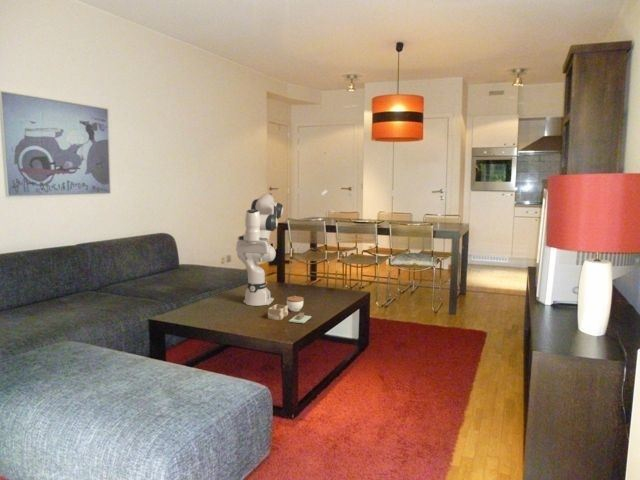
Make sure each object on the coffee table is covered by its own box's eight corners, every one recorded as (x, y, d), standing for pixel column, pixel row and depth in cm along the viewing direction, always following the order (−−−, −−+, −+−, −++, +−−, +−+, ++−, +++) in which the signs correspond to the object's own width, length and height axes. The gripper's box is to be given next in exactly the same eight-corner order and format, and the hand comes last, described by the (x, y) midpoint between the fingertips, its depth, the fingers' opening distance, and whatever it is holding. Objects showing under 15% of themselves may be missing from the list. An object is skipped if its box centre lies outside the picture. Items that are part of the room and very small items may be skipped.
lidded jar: (306, 309, 314) (306, 295, 313) (297, 313, 305) (297, 298, 304) (292, 307, 319) (292, 293, 318) (283, 310, 310) (283, 296, 309)
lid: (297, 317, 297) (297, 310, 297) (311, 318, 295) (311, 312, 294) (288, 323, 285) (288, 316, 285) (303, 324, 282) (303, 317, 282)
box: (275, 313, 303) (275, 304, 303) (287, 315, 301) (288, 305, 300) (267, 318, 292) (267, 309, 291) (280, 320, 289) (280, 310, 289)
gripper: (271, 237, 290) (271, 260, 292) (240, 235, 296) (240, 258, 298) (267, 238, 284) (267, 262, 286) (235, 237, 290) (235, 260, 292)
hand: (253, 260), depth 292 cm, fingers open, 8 cm apart
